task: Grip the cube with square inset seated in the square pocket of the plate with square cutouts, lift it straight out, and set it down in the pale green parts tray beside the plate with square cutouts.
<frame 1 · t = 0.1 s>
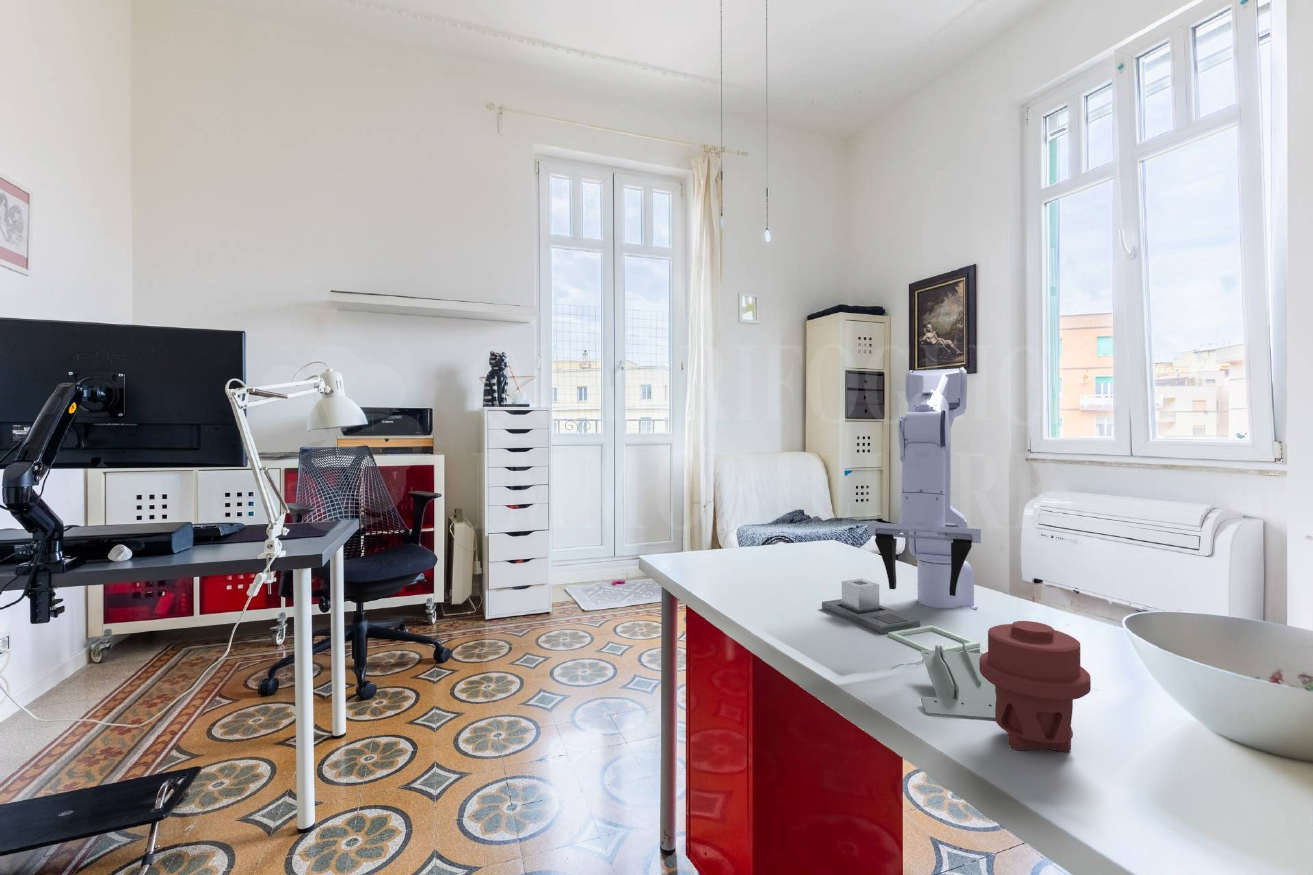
hand: (922, 591, 85), 11 cm above the table, tool pointing down, fingers open, 7 cm apart
cube with square inset: (860, 614, 106), point 1 cm above the table, touching plate with square cutouts
mechanical component: (1033, 743, 65), on the table
plate with square cutouts: (868, 623, 104), on the table
metal bracket: (978, 701, 76), on the table
tray: (932, 647, 92), on the table
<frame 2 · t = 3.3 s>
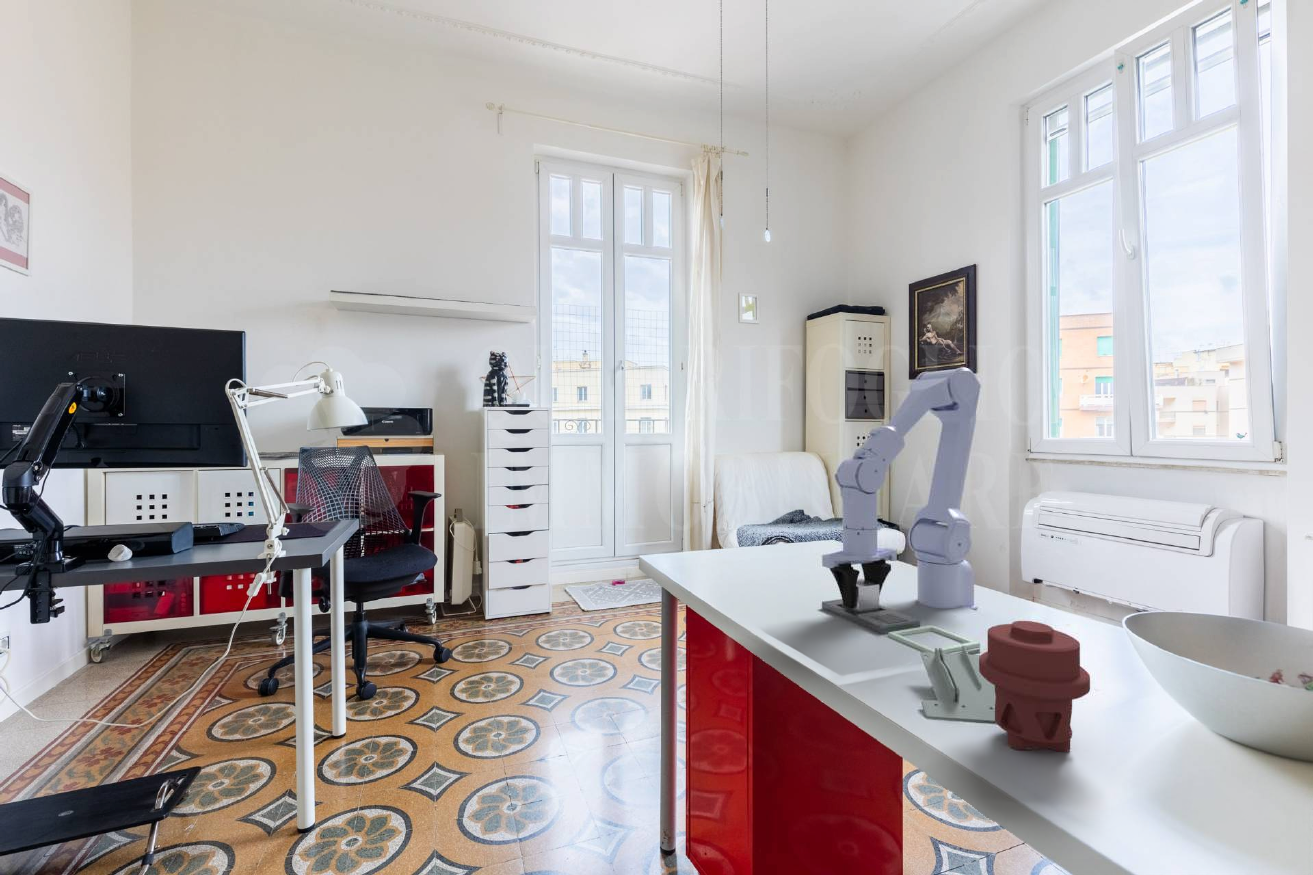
hand: (860, 604, 106), 3 cm above the table, tool pointing down, fingers closed on cube with square inset, 4 cm apart
cube with square inset: (860, 614, 106), point 1 cm above the table, touching gripper, plate with square cutouts
mechanical component: (1032, 743, 65), on the table, touching metal bracket
metal bracket: (979, 704, 75), on the table, touching mechanical component
when the fingers open (3 cm above the table, at t = 7.2 s): cube with square inset stays where it is, resting on tray.
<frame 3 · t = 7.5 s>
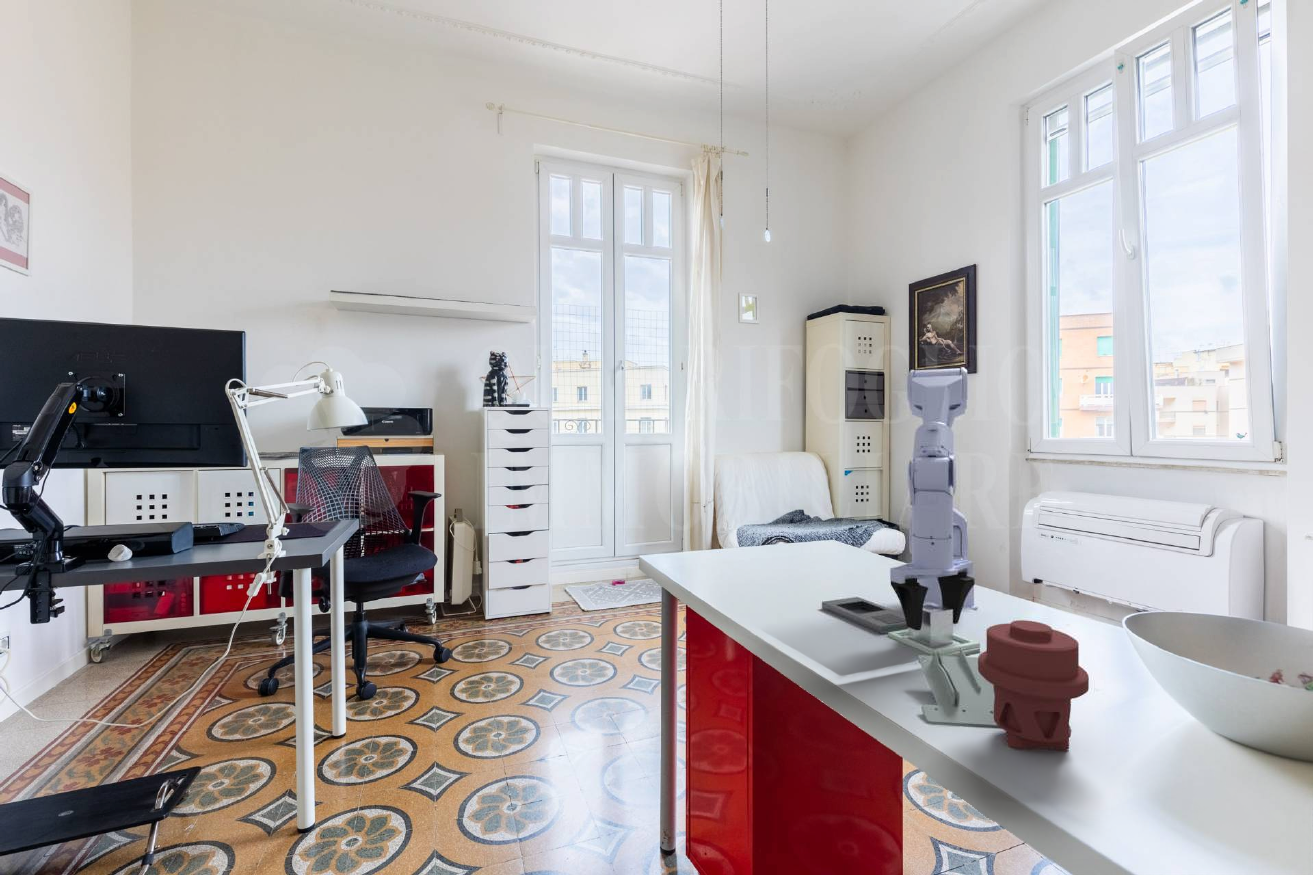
hand: (932, 625, 92), 3 cm above the table, tool pointing down, fingers open, 7 cm apart
cube with square inset: (930, 642, 93), resting on tray
metal bracket: (978, 708, 74), on the table, touching mechanical component
everything else where it was.
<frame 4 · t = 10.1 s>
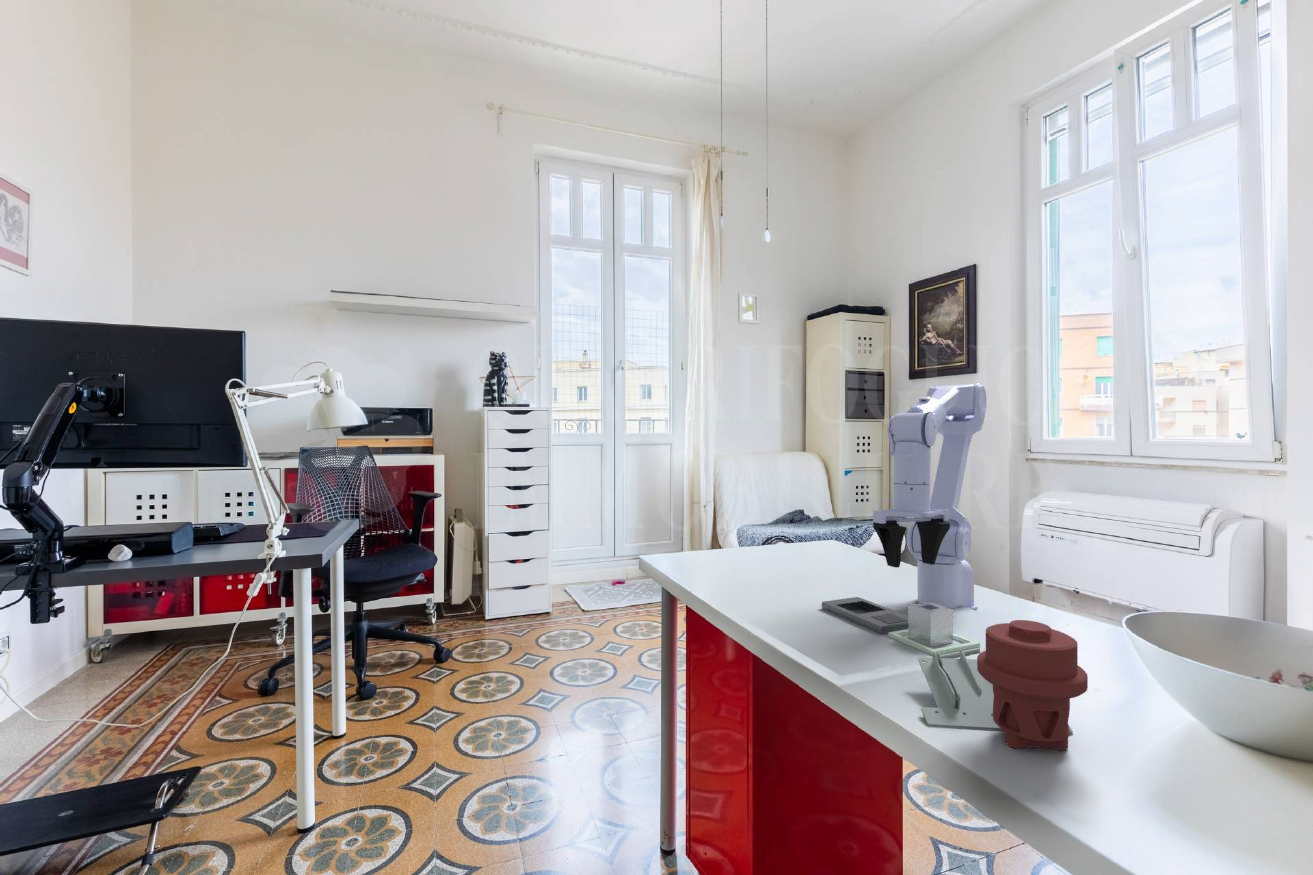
hand: (911, 565, 102), 10 cm above the table, tool pointing down, fingers open, 7 cm apart
mechanical component: (1030, 742, 65), on the table
metal bracket: (978, 710, 73), on the table
everything else where it was.
at the end: cube with square inset inside the target area on the tray (0.5 cm from its centre), point 0.5 cm above the tray's base; cube with square inset touching tray; the gripper is holding nothing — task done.
